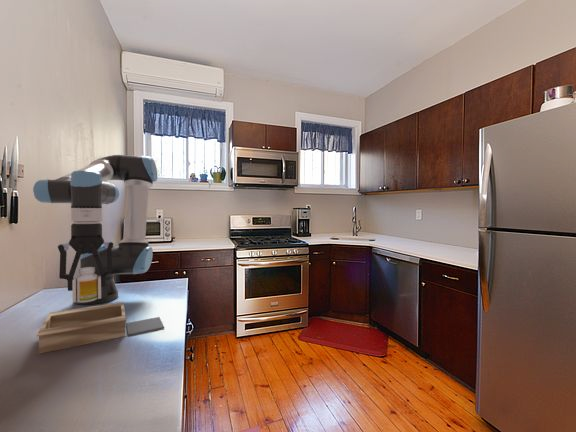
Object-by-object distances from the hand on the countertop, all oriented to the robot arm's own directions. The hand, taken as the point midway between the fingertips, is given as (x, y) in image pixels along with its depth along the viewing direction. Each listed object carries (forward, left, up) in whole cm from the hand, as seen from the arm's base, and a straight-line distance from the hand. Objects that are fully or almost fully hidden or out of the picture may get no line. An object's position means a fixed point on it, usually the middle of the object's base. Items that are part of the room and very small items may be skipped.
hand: (87, 298), depth 82 cm
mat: (+2, +15, -11) cm, 19 cm away
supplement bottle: (0, 0, -1) cm, 1 cm away
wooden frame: (0, 0, -11) cm, 11 cm away
